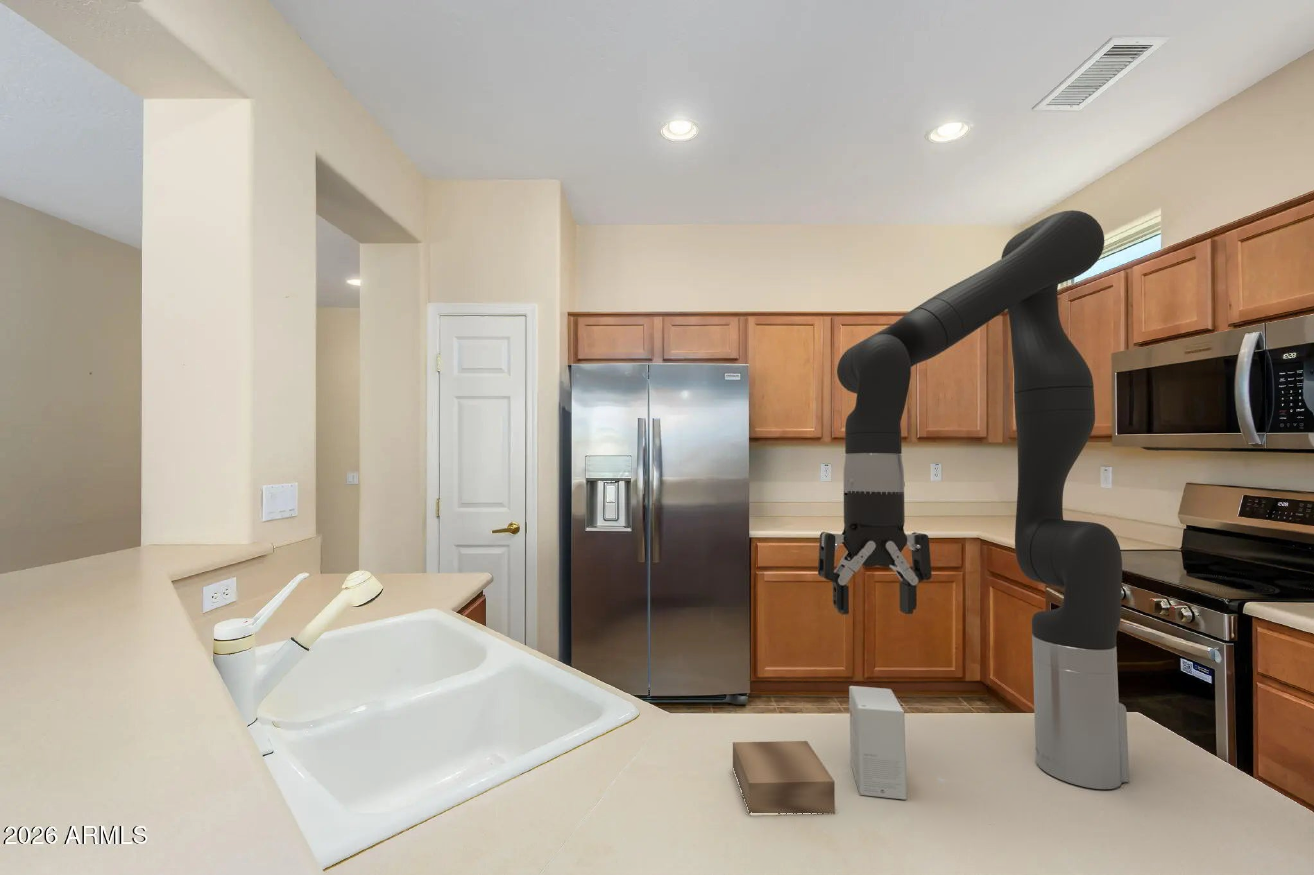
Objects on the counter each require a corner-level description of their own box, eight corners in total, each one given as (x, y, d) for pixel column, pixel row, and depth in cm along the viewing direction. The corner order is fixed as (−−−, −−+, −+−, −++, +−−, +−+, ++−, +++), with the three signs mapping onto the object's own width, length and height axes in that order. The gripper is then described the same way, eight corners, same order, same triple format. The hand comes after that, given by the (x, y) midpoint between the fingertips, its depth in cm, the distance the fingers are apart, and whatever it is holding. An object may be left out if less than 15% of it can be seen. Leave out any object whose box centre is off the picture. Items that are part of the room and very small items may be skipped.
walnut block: (807, 772, 76) (806, 741, 76) (834, 817, 66) (834, 781, 66) (732, 773, 75) (732, 742, 76) (749, 819, 65) (749, 783, 66)
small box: (907, 802, 69) (905, 712, 69) (858, 796, 70) (857, 707, 70) (893, 768, 76) (892, 688, 77) (849, 763, 78) (848, 684, 78)
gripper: (910, 488, 80) (912, 606, 79) (811, 487, 79) (811, 606, 78) (941, 490, 72) (943, 620, 71) (831, 488, 71) (832, 620, 70)
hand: (874, 613), depth 74 cm, fingers open, 8 cm apart
